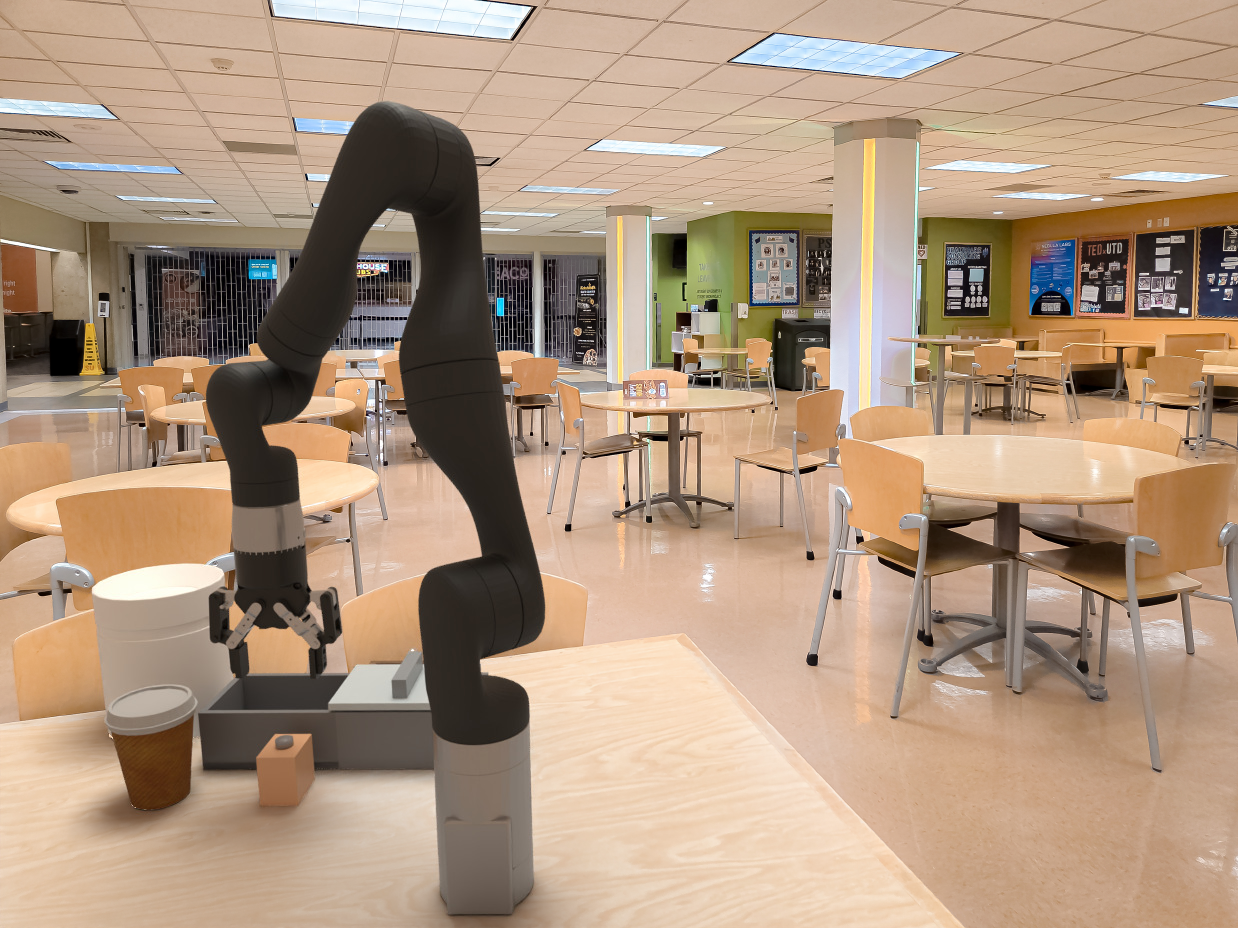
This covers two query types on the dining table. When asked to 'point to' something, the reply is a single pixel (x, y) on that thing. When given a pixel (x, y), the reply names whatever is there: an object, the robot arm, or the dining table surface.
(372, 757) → the frame
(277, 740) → the orange rectangular block
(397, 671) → the lid
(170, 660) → the canister
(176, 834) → the dining table surface
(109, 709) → the disposable coffee cup
